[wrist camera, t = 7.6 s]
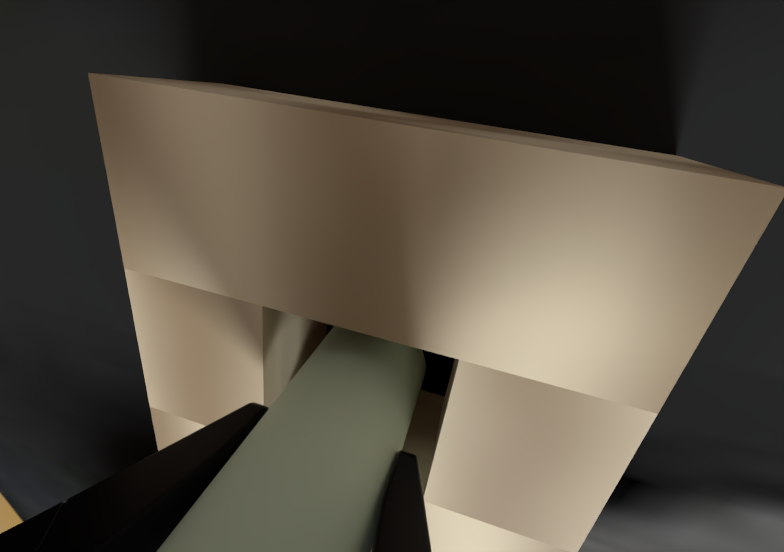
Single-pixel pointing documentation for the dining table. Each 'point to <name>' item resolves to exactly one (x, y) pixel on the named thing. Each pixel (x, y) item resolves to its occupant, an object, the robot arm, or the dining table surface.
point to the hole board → (423, 281)
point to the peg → (313, 456)
